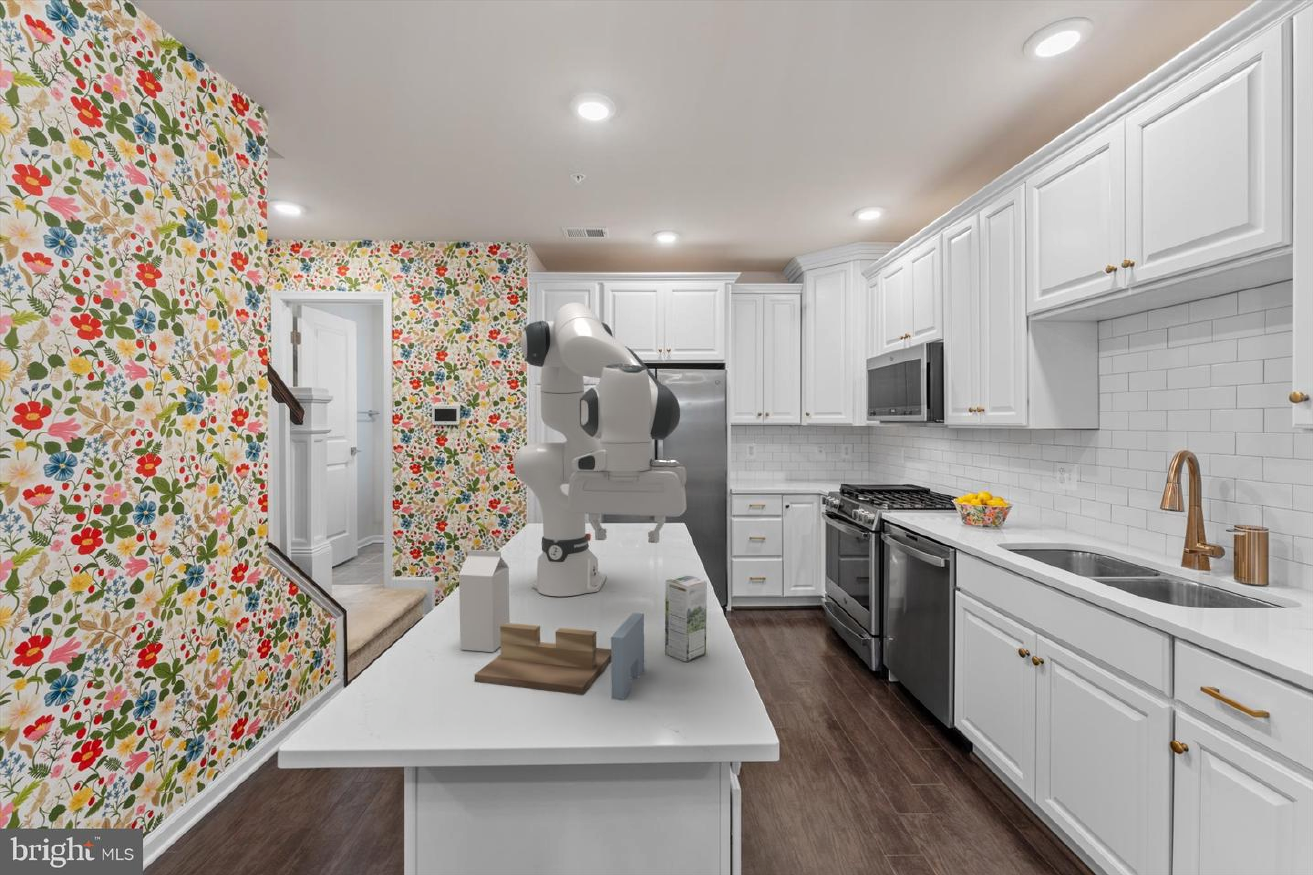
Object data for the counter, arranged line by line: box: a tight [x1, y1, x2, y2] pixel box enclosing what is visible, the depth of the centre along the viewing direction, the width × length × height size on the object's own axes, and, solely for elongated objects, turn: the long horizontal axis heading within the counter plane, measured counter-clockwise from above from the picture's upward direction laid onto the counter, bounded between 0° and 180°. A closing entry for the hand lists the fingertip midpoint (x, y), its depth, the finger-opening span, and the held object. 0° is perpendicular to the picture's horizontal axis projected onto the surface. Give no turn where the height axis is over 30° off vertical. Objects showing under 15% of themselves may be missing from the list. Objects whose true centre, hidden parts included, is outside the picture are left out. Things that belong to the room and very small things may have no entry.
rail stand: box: [474, 622, 611, 695], centre depth 105 cm, size 16×20×7 cm
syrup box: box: [664, 574, 708, 663], centre depth 111 cm, size 6×6×14 cm
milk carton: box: [458, 549, 511, 653], centre depth 116 cm, size 7×7×19 cm
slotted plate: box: [610, 612, 645, 701], centre depth 99 cm, size 12×2×10 cm, turn 165°
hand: (627, 540), depth 98 cm, fingers open, 8 cm apart
